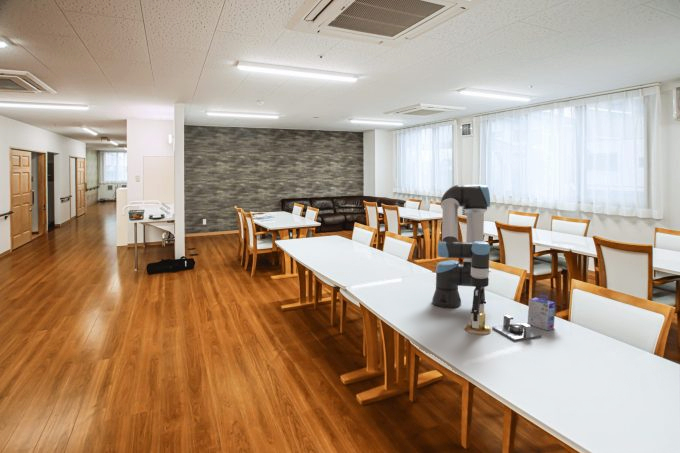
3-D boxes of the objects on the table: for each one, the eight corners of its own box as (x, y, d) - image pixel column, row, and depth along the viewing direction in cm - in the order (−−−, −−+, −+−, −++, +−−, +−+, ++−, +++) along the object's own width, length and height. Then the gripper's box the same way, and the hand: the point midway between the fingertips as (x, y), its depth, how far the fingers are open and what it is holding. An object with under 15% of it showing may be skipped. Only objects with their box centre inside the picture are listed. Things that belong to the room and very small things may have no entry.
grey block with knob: (492, 328, 174) (492, 316, 173) (518, 325, 178) (518, 313, 177) (514, 341, 160) (514, 328, 160) (541, 337, 164) (542, 324, 163)
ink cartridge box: (554, 328, 174) (556, 297, 172) (547, 331, 171) (549, 299, 169) (533, 321, 182) (535, 292, 180) (527, 324, 179) (528, 294, 177)
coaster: (460, 326, 177) (460, 325, 177) (480, 324, 180) (480, 322, 180) (474, 336, 166) (474, 334, 166) (496, 333, 169) (496, 331, 169)
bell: (465, 328, 173) (465, 313, 172) (467, 324, 178) (468, 309, 177) (488, 333, 168) (489, 317, 167) (490, 328, 173) (491, 313, 172)
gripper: (484, 284, 157) (482, 334, 160) (492, 271, 179) (490, 314, 181) (465, 282, 161) (463, 330, 163) (475, 269, 182) (474, 312, 185)
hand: (478, 322), depth 172 cm, fingers open, 13 cm apart
